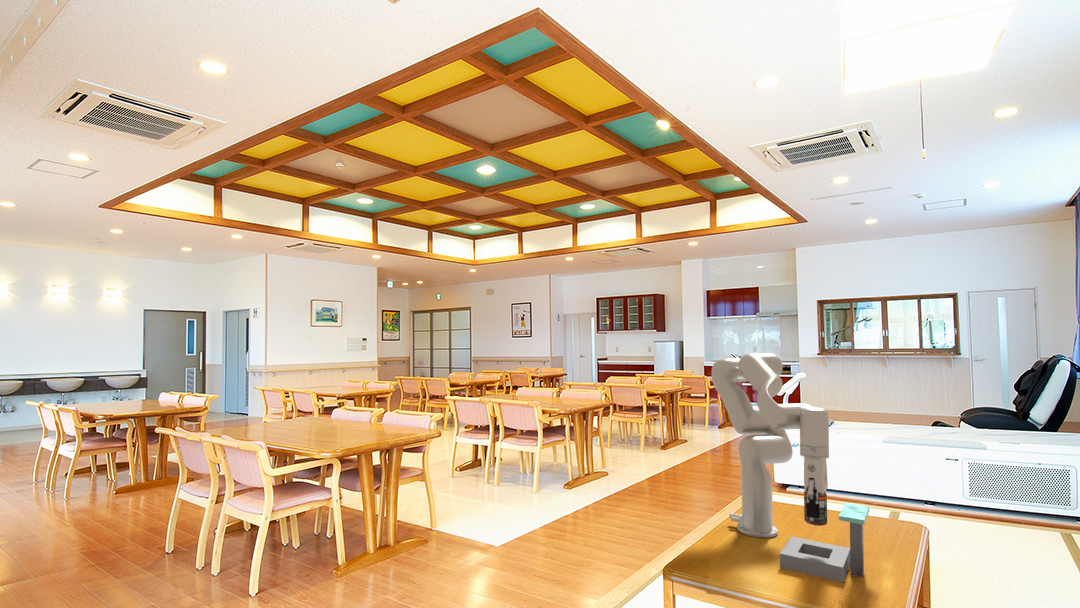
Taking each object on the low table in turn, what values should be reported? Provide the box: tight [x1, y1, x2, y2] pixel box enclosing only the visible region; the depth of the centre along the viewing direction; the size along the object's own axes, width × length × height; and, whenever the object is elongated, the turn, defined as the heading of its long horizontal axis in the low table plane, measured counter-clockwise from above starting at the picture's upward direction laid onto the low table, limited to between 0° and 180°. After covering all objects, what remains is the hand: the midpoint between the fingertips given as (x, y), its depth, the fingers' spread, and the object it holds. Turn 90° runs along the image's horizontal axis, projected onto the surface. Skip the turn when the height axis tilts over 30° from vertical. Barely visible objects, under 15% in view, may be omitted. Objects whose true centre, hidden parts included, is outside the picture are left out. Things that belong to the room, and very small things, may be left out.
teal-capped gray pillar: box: [838, 502, 870, 578], centre depth 158 cm, size 6×14×17 cm, turn 145°
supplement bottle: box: [803, 490, 828, 527], centre depth 164 cm, size 6×6×11 cm
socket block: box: [779, 536, 850, 583], centre depth 164 cm, size 16×16×4 cm
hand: (815, 513), depth 164 cm, fingers closed on supplement bottle, 6 cm apart
